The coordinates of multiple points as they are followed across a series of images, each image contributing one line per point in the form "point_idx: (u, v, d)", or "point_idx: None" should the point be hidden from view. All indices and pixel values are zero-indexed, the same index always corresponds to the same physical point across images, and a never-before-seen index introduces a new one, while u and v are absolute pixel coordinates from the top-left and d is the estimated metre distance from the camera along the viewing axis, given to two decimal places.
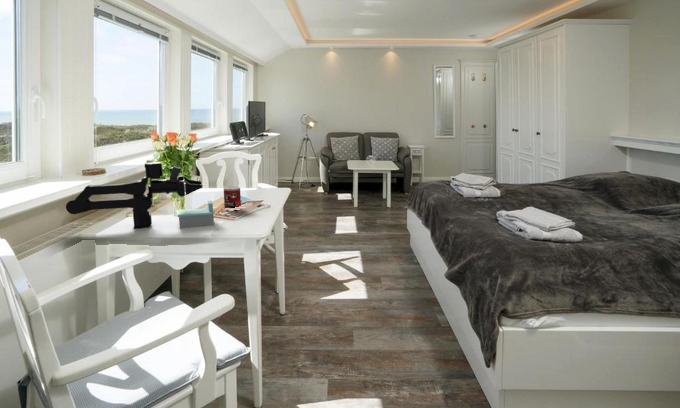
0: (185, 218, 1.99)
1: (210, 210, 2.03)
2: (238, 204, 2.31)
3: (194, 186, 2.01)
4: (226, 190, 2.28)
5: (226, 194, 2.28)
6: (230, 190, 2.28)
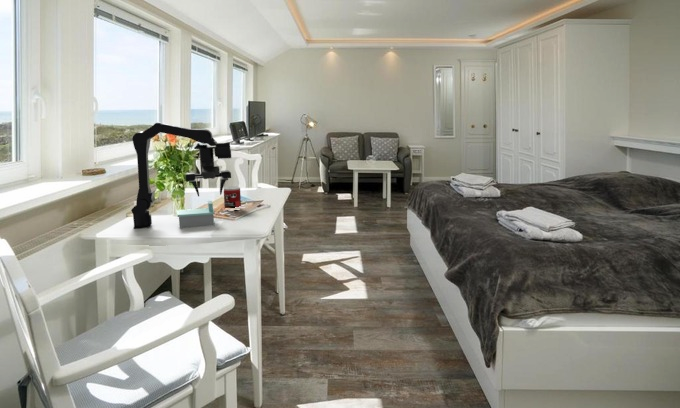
0: (185, 218, 1.99)
1: (210, 210, 2.03)
2: (238, 204, 2.31)
3: (195, 189, 2.02)
4: (226, 190, 2.28)
5: (226, 194, 2.28)
6: (230, 190, 2.28)
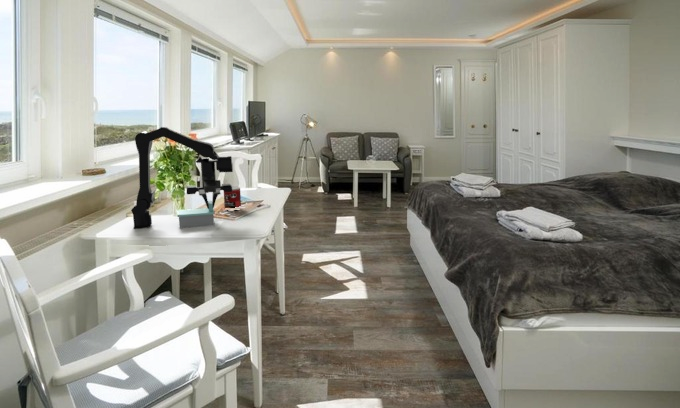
0: (185, 218, 1.99)
1: (210, 210, 2.03)
2: (238, 204, 2.31)
3: (205, 201, 2.05)
4: None
5: (226, 194, 2.28)
6: None
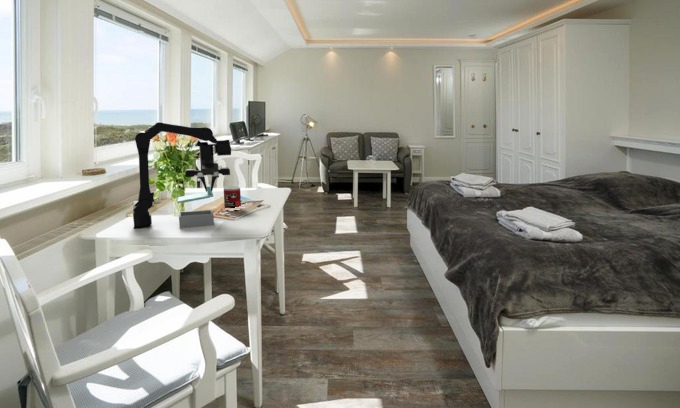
0: (185, 218, 1.99)
1: (209, 193, 2.08)
2: (238, 204, 2.31)
3: (203, 184, 2.09)
4: (226, 190, 2.28)
5: (226, 194, 2.28)
6: (230, 190, 2.28)
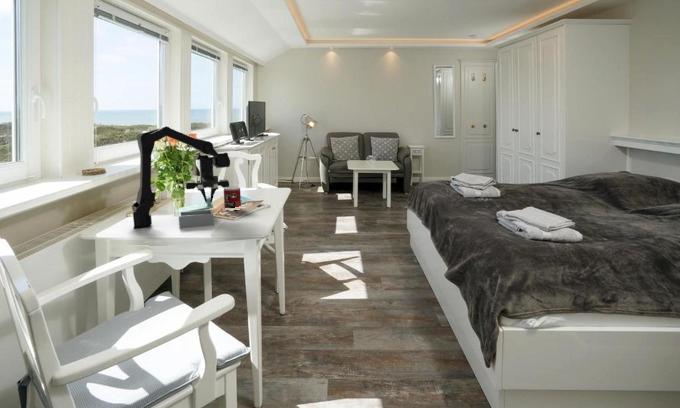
0: (185, 218, 1.99)
1: (208, 204, 2.15)
2: (238, 204, 2.31)
3: (203, 196, 2.16)
4: (226, 190, 2.28)
5: (226, 194, 2.28)
6: (230, 190, 2.28)
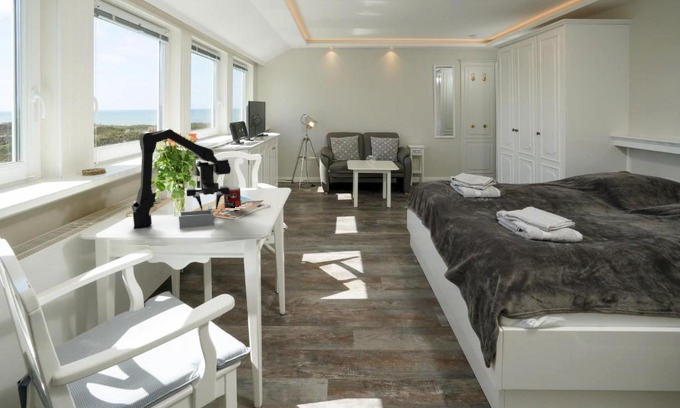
0: (185, 218, 1.99)
1: None
2: (238, 204, 2.31)
3: (199, 203, 2.16)
4: None
5: (226, 194, 2.28)
6: (230, 190, 2.28)
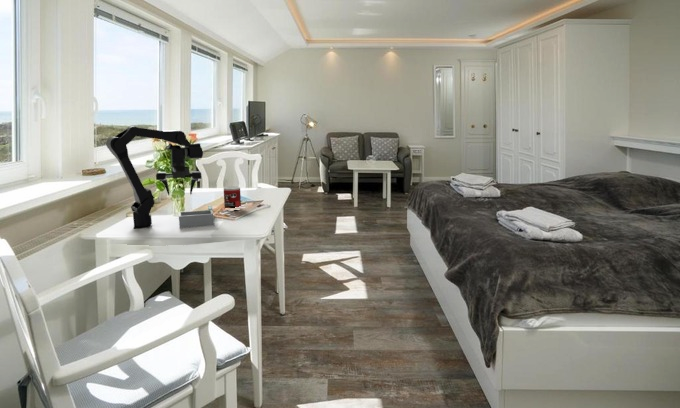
0: (185, 218, 1.99)
1: None
2: (238, 204, 2.31)
3: (165, 187, 2.08)
4: (226, 190, 2.28)
5: (226, 194, 2.28)
6: (230, 190, 2.28)
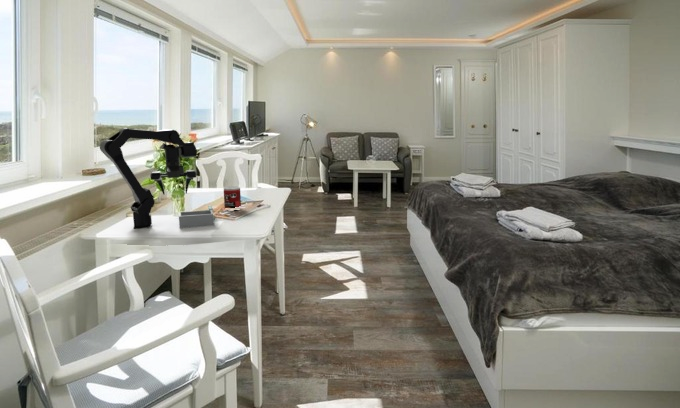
0: (185, 218, 1.99)
1: None
2: (238, 204, 2.31)
3: (160, 187, 2.07)
4: (226, 190, 2.28)
5: (226, 194, 2.28)
6: (230, 190, 2.28)
